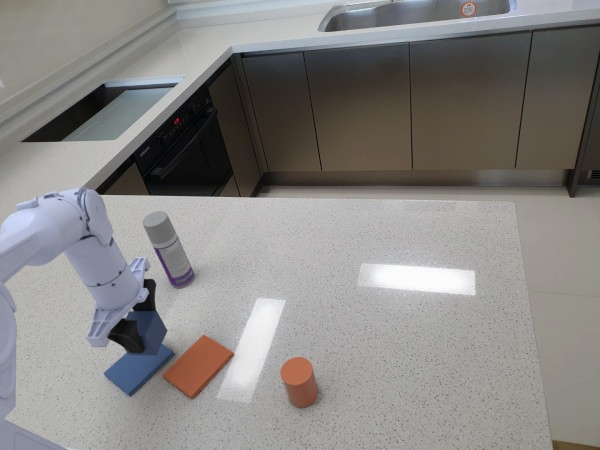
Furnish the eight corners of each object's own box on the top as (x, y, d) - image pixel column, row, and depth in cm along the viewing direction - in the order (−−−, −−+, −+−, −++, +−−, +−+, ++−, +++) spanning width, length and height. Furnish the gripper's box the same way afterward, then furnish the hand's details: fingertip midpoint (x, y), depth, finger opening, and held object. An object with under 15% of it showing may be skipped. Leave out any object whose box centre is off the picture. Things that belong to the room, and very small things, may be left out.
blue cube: (156, 355, 66) (144, 336, 63) (128, 355, 67) (115, 335, 64) (167, 330, 70) (156, 310, 67) (141, 330, 71) (129, 311, 68)
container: (170, 275, 90) (141, 215, 81) (193, 267, 91) (166, 207, 82) (172, 291, 87) (141, 230, 78) (196, 283, 87) (168, 221, 78)
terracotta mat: (192, 399, 67) (190, 396, 67) (163, 378, 71) (161, 375, 71) (234, 355, 73) (233, 352, 72) (205, 337, 76) (203, 334, 76)
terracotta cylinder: (306, 413, 63) (299, 390, 59) (281, 397, 65) (273, 375, 62) (324, 388, 65) (318, 365, 62) (300, 374, 68) (293, 351, 64)
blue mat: (130, 397, 70) (128, 394, 69) (105, 376, 74) (103, 373, 73) (174, 353, 75) (173, 350, 74) (149, 336, 79) (147, 333, 78)
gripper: (105, 314, 53) (150, 381, 61) (154, 232, 64) (185, 299, 72) (53, 314, 54) (103, 380, 63) (109, 235, 65) (145, 299, 74)
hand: (144, 336), depth 67 cm, fingers closed on blue cube, 4 cm apart
